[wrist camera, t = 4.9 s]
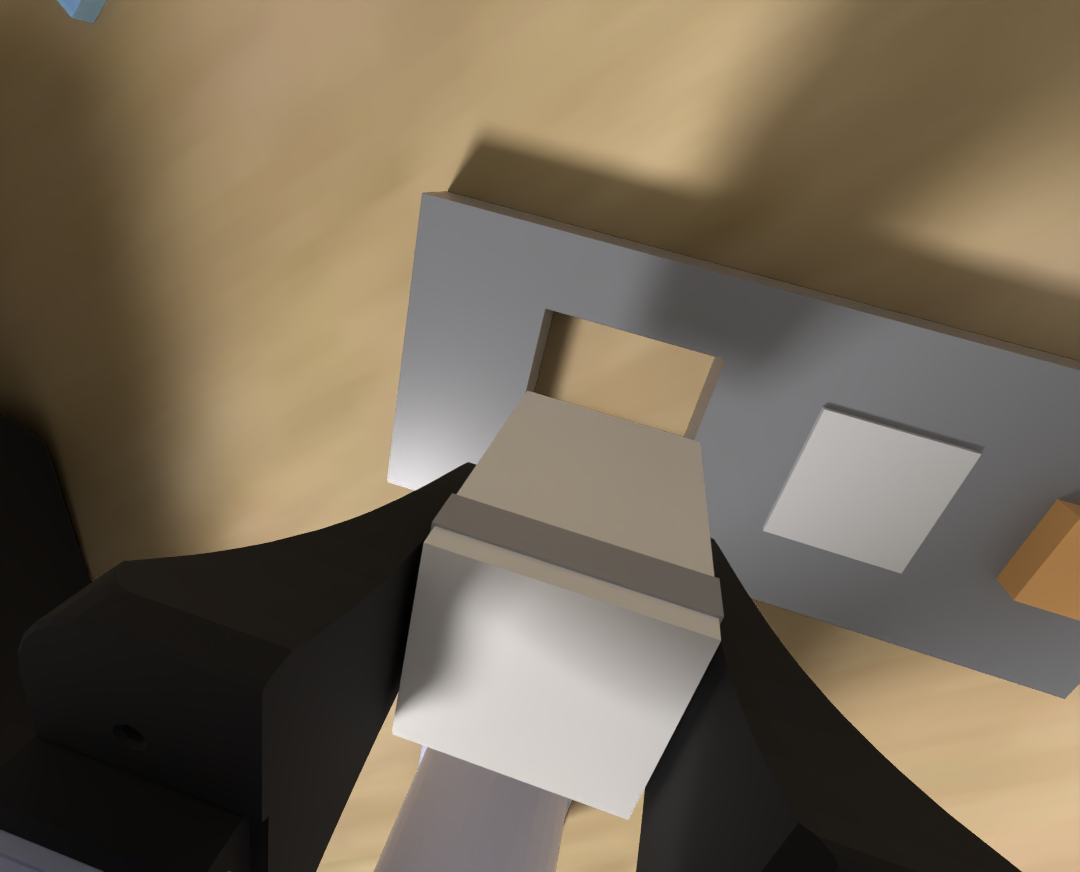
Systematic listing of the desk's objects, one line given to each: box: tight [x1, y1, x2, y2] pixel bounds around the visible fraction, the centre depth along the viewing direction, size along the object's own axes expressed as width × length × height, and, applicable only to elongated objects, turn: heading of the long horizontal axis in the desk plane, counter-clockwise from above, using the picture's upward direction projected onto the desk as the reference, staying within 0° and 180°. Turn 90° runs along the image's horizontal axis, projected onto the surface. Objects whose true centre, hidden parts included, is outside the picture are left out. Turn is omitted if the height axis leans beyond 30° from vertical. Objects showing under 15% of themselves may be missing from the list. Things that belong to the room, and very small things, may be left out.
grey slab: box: [387, 191, 1080, 699], centre depth 18 cm, size 24×10×3 cm, turn 77°
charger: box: [392, 391, 724, 820], centre depth 11 cm, size 4×4×6 cm
